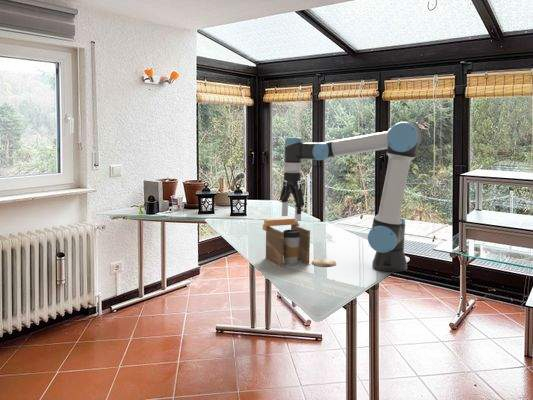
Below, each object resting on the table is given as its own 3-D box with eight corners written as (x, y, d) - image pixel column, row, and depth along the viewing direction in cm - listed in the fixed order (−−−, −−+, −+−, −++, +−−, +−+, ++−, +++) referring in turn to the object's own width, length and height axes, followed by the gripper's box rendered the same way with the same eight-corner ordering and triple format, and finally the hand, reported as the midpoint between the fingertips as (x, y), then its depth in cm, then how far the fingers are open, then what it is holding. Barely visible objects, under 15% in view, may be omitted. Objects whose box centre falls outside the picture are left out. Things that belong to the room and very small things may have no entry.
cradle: (292, 255, 246) (293, 224, 244) (309, 264, 231) (310, 230, 229) (265, 258, 240) (266, 226, 238) (280, 267, 225) (281, 232, 223)
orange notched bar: (296, 227, 245) (296, 217, 245) (299, 228, 242) (299, 218, 242) (262, 229, 238) (262, 219, 238) (265, 230, 235) (265, 220, 235)
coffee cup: (277, 262, 232) (278, 230, 230) (290, 260, 238) (291, 228, 236) (290, 266, 226) (291, 233, 224) (303, 263, 232) (304, 231, 230)
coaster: (328, 259, 239) (328, 258, 239) (340, 265, 229) (340, 264, 229) (307, 261, 235) (307, 260, 235) (319, 267, 225) (319, 266, 225)
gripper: (273, 169, 236) (272, 214, 239) (297, 174, 214) (296, 223, 216) (287, 169, 239) (286, 213, 242) (313, 174, 217) (311, 222, 219)
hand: (291, 218), depth 229 cm, fingers open, 13 cm apart
